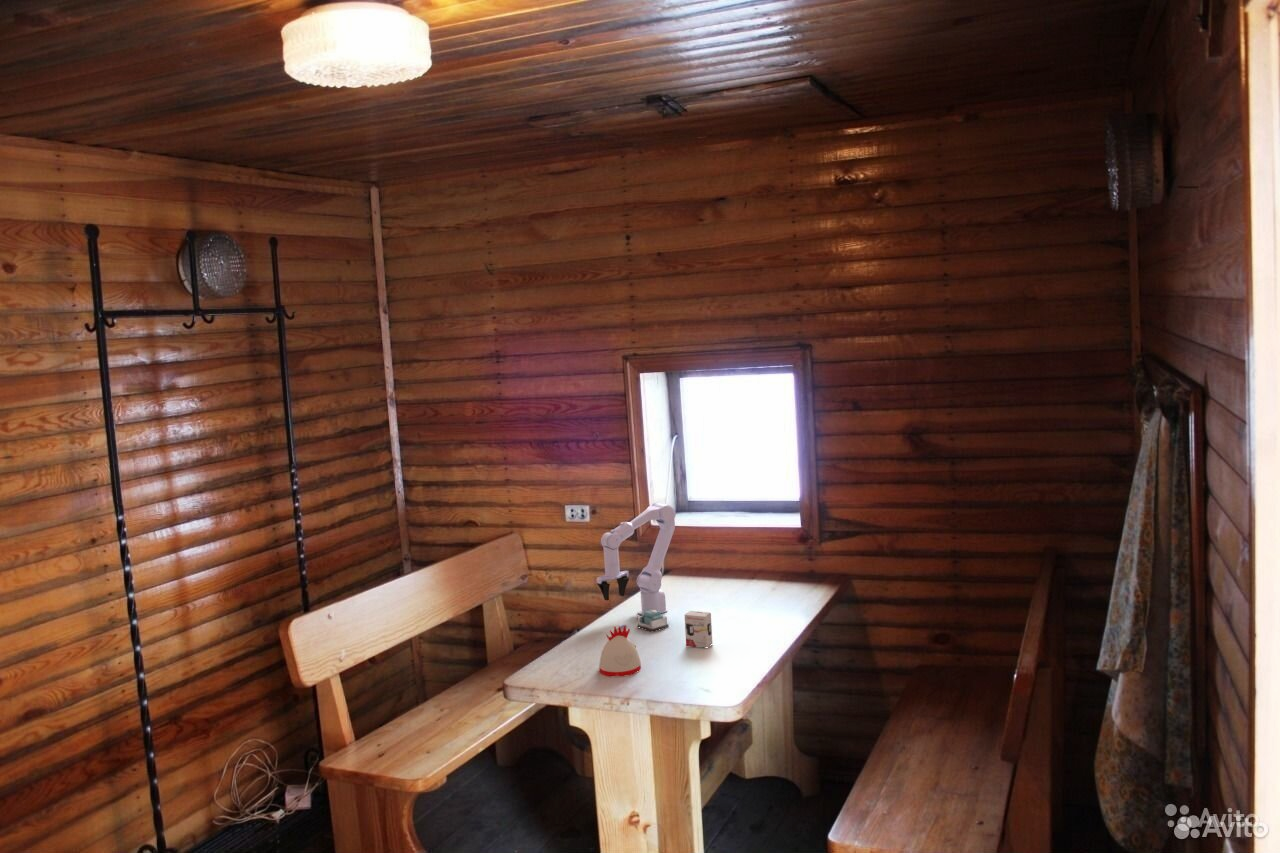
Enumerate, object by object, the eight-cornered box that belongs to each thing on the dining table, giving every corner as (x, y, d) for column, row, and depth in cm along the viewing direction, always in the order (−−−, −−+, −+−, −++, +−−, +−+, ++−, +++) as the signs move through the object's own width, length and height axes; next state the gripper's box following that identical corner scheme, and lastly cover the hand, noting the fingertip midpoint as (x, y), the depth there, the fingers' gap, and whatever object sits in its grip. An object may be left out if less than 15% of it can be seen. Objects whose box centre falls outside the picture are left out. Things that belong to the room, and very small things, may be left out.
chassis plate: (653, 622, 393) (652, 612, 393) (668, 626, 386) (667, 616, 386) (637, 627, 388) (636, 617, 388) (652, 632, 381) (651, 621, 381)
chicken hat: (645, 672, 337) (643, 628, 336) (605, 679, 333) (602, 634, 332) (634, 660, 350) (631, 617, 349) (595, 666, 347) (592, 623, 345)
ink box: (685, 646, 361) (683, 614, 360) (691, 642, 366) (689, 610, 364) (707, 648, 357) (705, 616, 356) (713, 644, 362) (711, 612, 360)
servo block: (650, 621, 391) (649, 607, 391) (663, 625, 385) (662, 610, 384) (642, 623, 389) (641, 609, 388) (655, 627, 382) (654, 613, 382)
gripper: (603, 568, 388) (605, 603, 389) (632, 561, 397) (635, 595, 399) (592, 566, 394) (594, 600, 395) (621, 558, 403) (623, 592, 404)
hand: (614, 597), depth 397 cm, fingers open, 7 cm apart
